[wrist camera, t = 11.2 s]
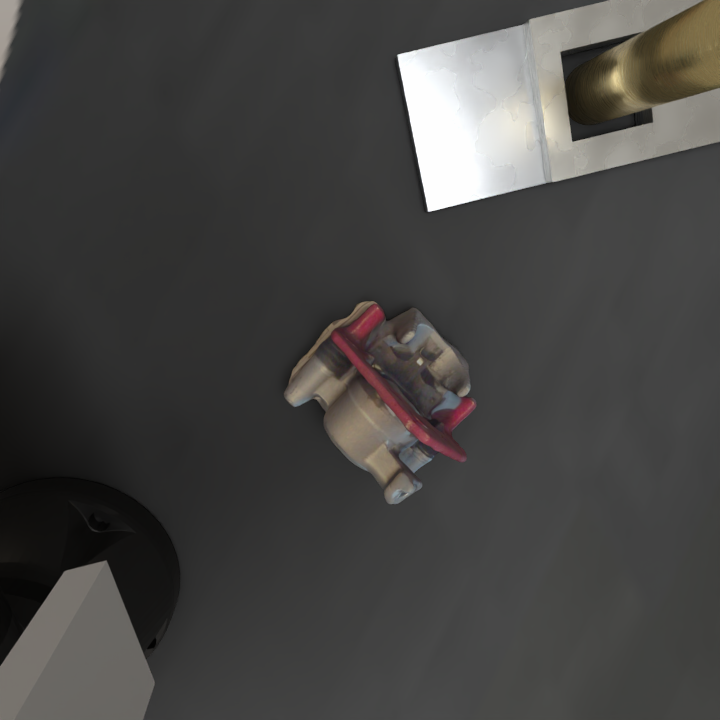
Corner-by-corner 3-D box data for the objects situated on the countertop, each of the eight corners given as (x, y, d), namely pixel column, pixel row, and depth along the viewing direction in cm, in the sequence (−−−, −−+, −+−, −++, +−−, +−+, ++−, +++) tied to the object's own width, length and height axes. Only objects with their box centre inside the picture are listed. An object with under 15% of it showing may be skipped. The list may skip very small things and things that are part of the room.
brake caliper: (531, 369, 38) (492, 521, 30) (417, 426, 46) (360, 560, 38) (409, 243, 36) (329, 370, 27) (309, 325, 43) (222, 445, 35)
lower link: (425, 211, 38) (428, 211, 37) (394, 58, 35) (397, 54, 34) (661, 153, 38) (671, 152, 37) (646, -2, 36) (656, -8, 35)
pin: (566, 130, 37) (730, 82, 23) (558, 69, 36) (723, -22, 22) (622, 117, 37) (820, 60, 23) (615, 55, 36) (818, -45, 22)
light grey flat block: (540, 183, 38) (552, 182, 36) (517, 29, 36) (529, 19, 34) (775, 126, 38) (799, 122, 36) (767, -30, 36) (793, -44, 34)
